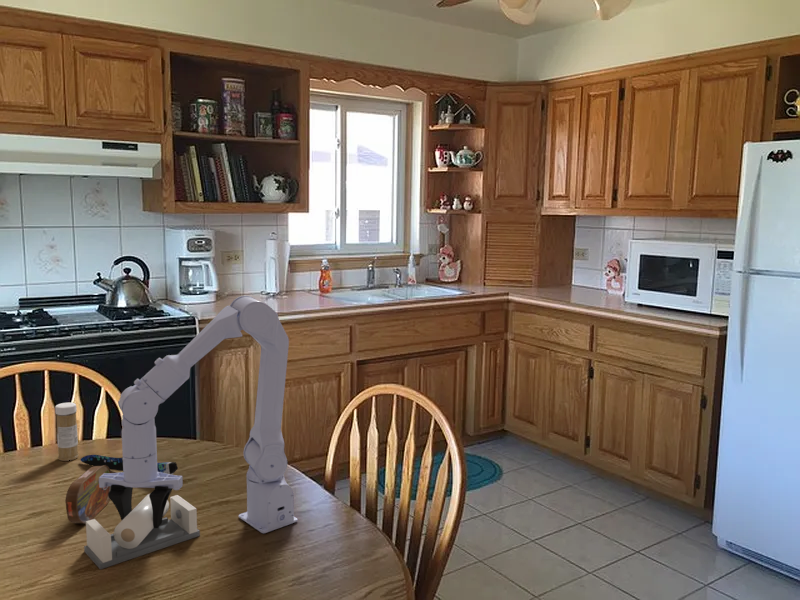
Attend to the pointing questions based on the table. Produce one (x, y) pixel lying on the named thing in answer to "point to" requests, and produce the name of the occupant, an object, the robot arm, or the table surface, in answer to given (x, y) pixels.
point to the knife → (118, 463)
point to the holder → (168, 533)
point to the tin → (87, 495)
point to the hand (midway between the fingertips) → (142, 524)
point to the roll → (136, 524)
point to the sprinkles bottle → (67, 431)
